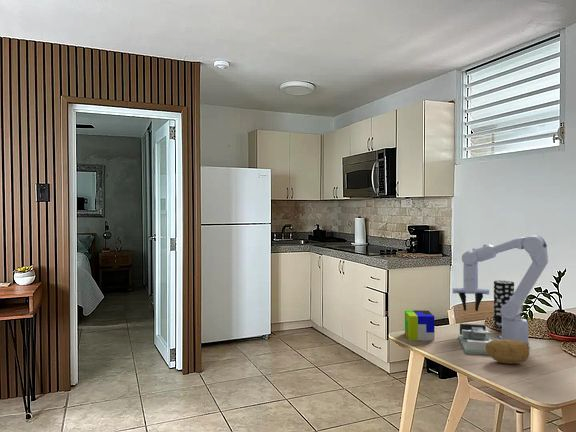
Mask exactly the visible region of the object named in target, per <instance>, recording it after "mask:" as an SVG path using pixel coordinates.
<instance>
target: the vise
mask: <svg viewBox="0 0 576 432" xmlns="http://www.w3.org/2000/svg"><path fill="white" fill-rule="evenodd" d="M458 340H459V342H460V344H461V346H462V349H463V350H464V353H465V354H468V355H481V354H485V356H490V355H489V354H488V353H487V351H486V348H485V347H486V344H487V343H488V342H490V341H492V339H491V337H489V340H486V341H479V340H471V339H466V338H462V336H458Z"/></svg>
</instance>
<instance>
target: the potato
mask: <svg viewBox="0 0 576 432" xmlns="http://www.w3.org/2000/svg"><path fill="white" fill-rule="evenodd" d="M491 340H492V339H491ZM485 348H486V351H487V353H488V354H489V355H488V356H490V357H491V358H492V359H493V360H495V361H496V362H497V363H501V364H505V365H513V364H514V365H515V364H519V363H524V362H525V361H526V360H527V359H528V358H529V356H530V347H529V345H528V343H525V342H523V341H517V340H508V339H503V340H501V339H494V340H492V341H490V342H488V343H487V344H486V347H485Z"/></svg>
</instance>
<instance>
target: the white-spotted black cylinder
mask: <svg viewBox="0 0 576 432" xmlns="http://www.w3.org/2000/svg"><path fill="white" fill-rule="evenodd" d="M514 292H515V282H514V281H510V280H494V281H493V326H494V325H496V326H500V327H502V315H501V311H500V310H501V307H502V306H503V305H505V304H506V303H507V302H508V301H509V299H510V298H511V297H512V295H513V294H514ZM496 326H495V327H496Z"/></svg>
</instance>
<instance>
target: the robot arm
mask: <svg viewBox="0 0 576 432" xmlns="http://www.w3.org/2000/svg"><path fill="white" fill-rule="evenodd" d="M513 249H518V250H523V249H524V251H526V253H528V255H529V257H530V259H531V261H532V262H531V264H530V266H529V267H528V269H527V270H526V272H525V274H524V276H523V277H522V278H521V280H520V282H519V284H518V286H517V287H516V289H514V294H513V295H512V297H511V298H510V299H509V301H508V302H507V303H506V304H505V305H503V306H502V307H501V310H500V311H501V315H502V328H501V335H498V337H499V340H503V339H508V340H517V341H523V342H525V343H526V344H530V343H529V323H528V319H525V318H522V316H521V313H523V306H524V304H525V301H526V299H527V298H528V296H529V294H530V293H531V291H532V289H533V288H534V286H535V284H536V283H537V281H538V279H539V278H540V277H541V275H542V273H543V271H544V270H545V269H546V266H548V263H549V256H548V244H547V243H546V241H545V238H544V237H542V236H541V235H539V234H533V235H531V236H530V235H529V236H524V237H523V236H522V237H517V238H514V239H512V240H509V241H506V242H502V243H499V244H497V245H492V244H487V243H486V244H483V245H482V246H481V247H477V248H476V247H474V248H472V249H471V250H470V251H469V250H467V251H465V252H463V254H462V255H461V261H462V263H463V271H462V273H463V274H462V275H463V277H462V278H463V282H462V283H463V284H462V285H463V286H462V287H456V288H455V287H452V291H451V292H452V294H458V296H459V299H460V301H461V302H462V306H463V307H462V308H463V311H464V312H466V311H467V304H466V303H467V294H471V295H472V294H473V295H474V298H475V300H474V301H475V302H474V304H475V305H474V310H475V312H478V311H479V307H480V304H481V301H482V300H483V298H484V295H490V290H489V288H479V286H478V285H479V276H478V275H479V273H478V272H479V270H478V269H479V267H478V265H479V263H481V262H485V261H488V260H491V259H494V258H496V256H497V254H499V253H503V252H507V251H509V250H513Z"/></svg>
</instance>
